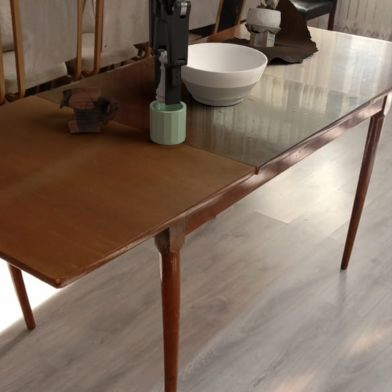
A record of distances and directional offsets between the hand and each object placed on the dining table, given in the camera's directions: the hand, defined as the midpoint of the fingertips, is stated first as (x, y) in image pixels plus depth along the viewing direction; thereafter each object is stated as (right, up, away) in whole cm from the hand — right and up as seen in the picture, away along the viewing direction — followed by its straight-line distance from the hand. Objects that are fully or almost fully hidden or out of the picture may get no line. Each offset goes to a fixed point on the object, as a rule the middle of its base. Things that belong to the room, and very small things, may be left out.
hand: (167, 98), depth 113 cm
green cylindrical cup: (0, -5, +5) cm, 7 cm away
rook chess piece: (0, 0, 0) cm, 0 cm away
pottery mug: (-15, -2, +8) cm, 17 cm away
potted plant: (+25, +31, +47) cm, 61 cm away
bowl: (+10, +9, +22) cm, 25 cm away
